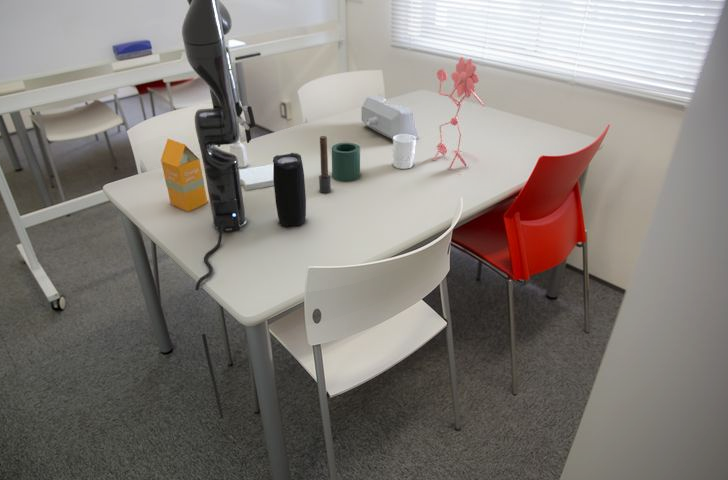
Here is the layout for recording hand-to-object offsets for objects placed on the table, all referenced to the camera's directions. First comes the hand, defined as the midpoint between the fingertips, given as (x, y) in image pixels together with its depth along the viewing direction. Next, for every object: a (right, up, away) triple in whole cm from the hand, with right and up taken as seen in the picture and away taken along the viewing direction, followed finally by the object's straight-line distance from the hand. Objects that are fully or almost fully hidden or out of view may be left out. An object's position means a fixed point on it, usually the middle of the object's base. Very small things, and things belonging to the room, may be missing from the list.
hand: (233, 144), depth 149 cm
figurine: (+74, +2, +33) cm, 81 cm away
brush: (+27, -12, +15) cm, 33 cm away
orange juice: (-16, -16, +10) cm, 25 cm away
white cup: (+54, 0, +31) cm, 62 cm away
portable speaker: (+17, -23, -1) cm, 29 cm away
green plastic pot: (+34, -5, +24) cm, 42 cm away
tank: (+50, +18, +58) cm, 79 cm away
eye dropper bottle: (-5, 0, +34) cm, 34 cm away
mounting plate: (+5, -6, +24) cm, 25 cm away
